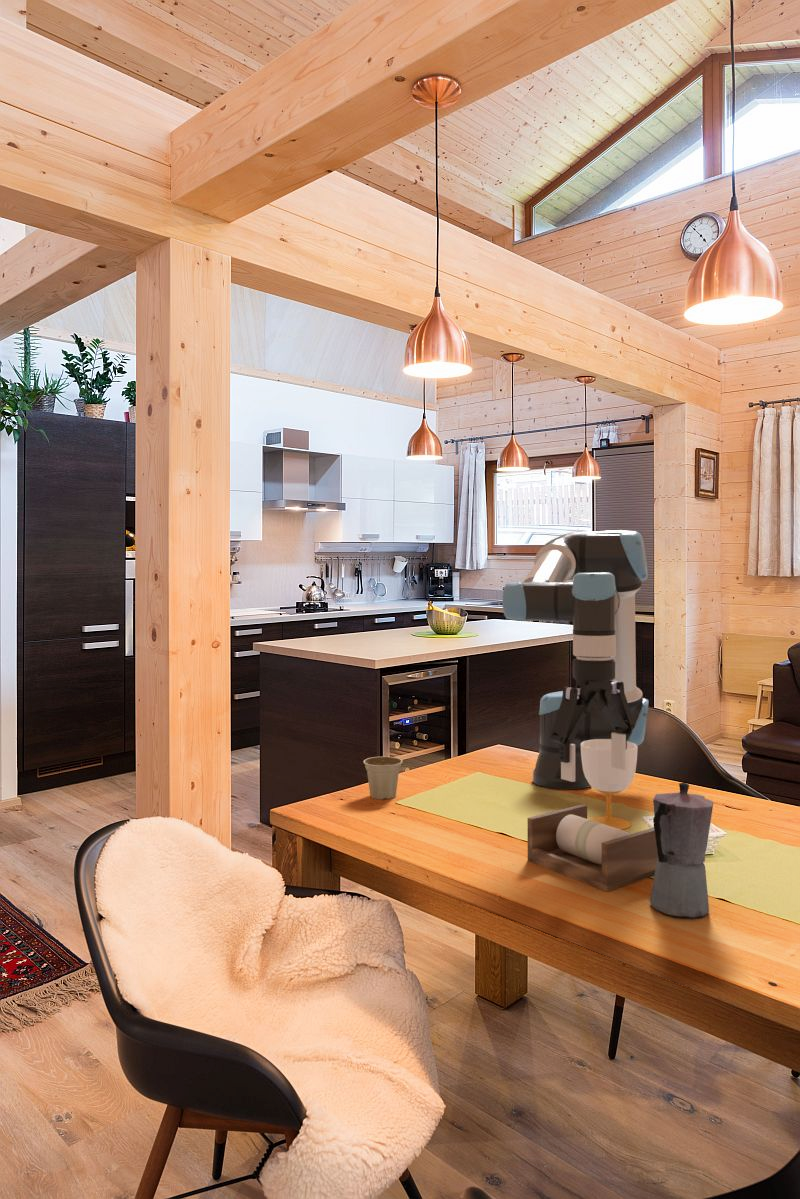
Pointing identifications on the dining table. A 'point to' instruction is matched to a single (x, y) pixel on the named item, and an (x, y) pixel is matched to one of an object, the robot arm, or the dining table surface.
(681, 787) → the moka pot
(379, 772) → the flower pot
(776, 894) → the dining table surface
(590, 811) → the dining table surface
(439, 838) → the dining table surface
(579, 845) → the roll
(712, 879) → the dining table surface
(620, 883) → the holder
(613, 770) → the cup
